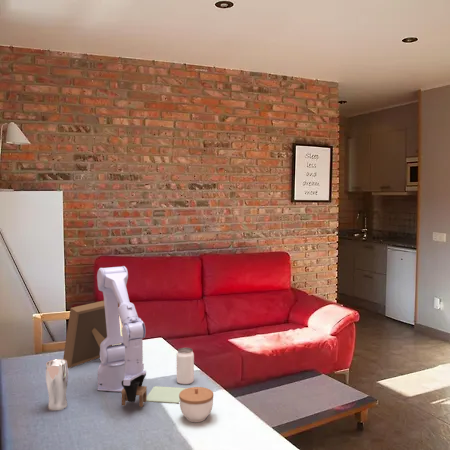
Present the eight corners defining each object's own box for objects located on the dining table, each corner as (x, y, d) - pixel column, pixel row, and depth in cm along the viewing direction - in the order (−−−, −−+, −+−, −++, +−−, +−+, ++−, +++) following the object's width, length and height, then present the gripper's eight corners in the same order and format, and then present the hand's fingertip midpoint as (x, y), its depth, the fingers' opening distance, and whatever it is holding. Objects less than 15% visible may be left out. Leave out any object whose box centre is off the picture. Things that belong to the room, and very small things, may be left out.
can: (191, 385, 173) (191, 353, 172) (174, 384, 174) (174, 352, 174) (195, 378, 179) (195, 347, 179) (179, 377, 181) (179, 346, 180)
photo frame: (62, 365, 193) (61, 305, 191) (104, 351, 211) (104, 296, 209) (85, 374, 184) (85, 311, 183) (127, 358, 202) (127, 301, 200)
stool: (121, 405, 154) (121, 390, 154) (126, 399, 159) (126, 385, 158) (142, 406, 153) (142, 391, 153) (146, 401, 158) (146, 386, 157)
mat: (144, 401, 160) (144, 400, 159) (154, 387, 171) (154, 386, 171) (178, 403, 158) (178, 402, 158) (186, 389, 170) (186, 388, 170)
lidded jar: (200, 429, 140) (200, 398, 140) (172, 420, 146) (172, 390, 146) (219, 415, 150) (219, 386, 149) (192, 407, 155) (192, 379, 155)
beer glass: (47, 413, 151) (46, 367, 150) (45, 404, 157) (44, 360, 156) (70, 408, 154) (69, 364, 153) (66, 400, 160) (66, 357, 159)
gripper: (138, 366, 147) (138, 408, 148) (152, 351, 162) (152, 390, 162) (116, 365, 148) (117, 407, 149) (132, 350, 162) (132, 388, 163)
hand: (134, 398), depth 156 cm, fingers closed on stool, 4 cm apart
